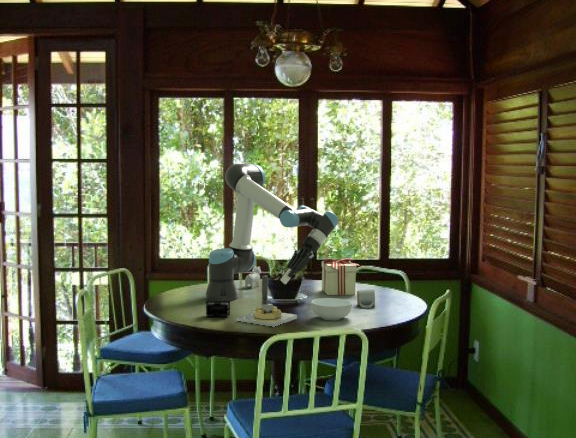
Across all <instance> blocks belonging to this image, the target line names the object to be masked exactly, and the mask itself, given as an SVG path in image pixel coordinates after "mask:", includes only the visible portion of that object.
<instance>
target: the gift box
mask: <svg viewBox="0 0 576 438" xmlns="http://www.w3.org/2000/svg"><path fill="white" fill-rule="evenodd" d="M351 261H353V259H352V258H341V259H339V260H336V259H333V258H328V259H327V258H326V259H324V260H322V261H321V268H322V271H321V291H322V292H324V294H326V295H327V296H355V295H356V284H357V283H356V278H357V277H356V276H357V274H356V273H357V271H358V270H357V269H358V267H360V266H361V265H360V264H359V263H355V262H351ZM357 266H358V267H357Z"/></svg>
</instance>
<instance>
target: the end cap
mask: <svg viewBox="0 0 576 438" xmlns="http://www.w3.org/2000/svg"><path fill="white" fill-rule="evenodd" d="M205 315H206V319H207V318H228V319H229V317H230V315H231V300H230V301H211V300H206V301H205ZM228 316H229V317H228Z"/></svg>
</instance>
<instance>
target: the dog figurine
mask: <svg viewBox="0 0 576 438" xmlns="http://www.w3.org/2000/svg"><path fill="white" fill-rule="evenodd" d="M261 273H262V270H261V266H257V265H254V267H253V268H252V269H251V273H249V274H248V275H246V277H245V279H244V283H245V284H244V288H245V289H248V285H250V287H251V290H254V289H255V287H254V286H255V284H254V283H256V287H257V288H260V287H261V286H260V280H261V275H260V274H261Z"/></svg>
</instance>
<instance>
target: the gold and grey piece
mask: <svg viewBox="0 0 576 438" xmlns="http://www.w3.org/2000/svg"><path fill="white" fill-rule="evenodd" d="M268 286H269V285H268V275H261V305H262V304H265V303H268V300H269V298H268V296H269V295H268V290H269V288H268ZM253 312H254V317H255V318H260V319H275V318H279V317H281V313H282V311H281V309H278V307H277V306H275V305H273V310H272V313H264V310H262V306H257V307H255V309H254V310H253Z"/></svg>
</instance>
